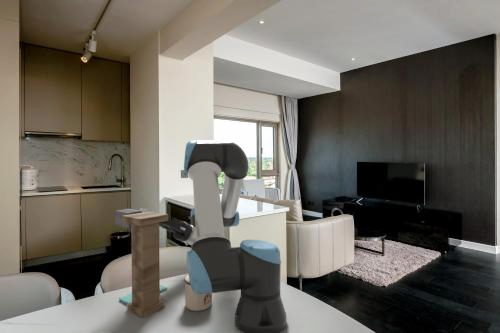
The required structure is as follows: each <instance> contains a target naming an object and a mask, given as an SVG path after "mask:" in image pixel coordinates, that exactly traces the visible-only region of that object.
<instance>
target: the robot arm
mask: <svg viewBox="0 0 500 333" xmlns="http://www.w3.org/2000/svg"><path fill="white" fill-rule="evenodd" d="M248 160H249V159H248V157H247V155H246V153H245V151H244V149H243V148H242V147H241V146H240V145H238V144H237V143H235V142H233V141H230V140H222V141H221V140H199V139H197V140H190V141H188V142H187V143H186V144H185V151H184V161H183V172H184V173H187V175H188V177H189V179H190V180H192V189H193V204H194V207H193V208H192V209H191V210H190V223H188V222H186V221H183V220H181V221H178V222H176V221H175V220H173V219H171V218H169V217H168V221H164V222H159V228H162V229H165V230H167V231H168V232H169V233H172V236H173V238H174V239H175V240H177V241H180V242H181V243H184V244H185V245H186V246H188V245H189V246H191V249H190V250H188V251H187V252H186V264H187V273H188V274H187V275H189V280H190V285H191V288H192V290H193V292H195V293H196V294H207V293H208V294H211V293H212V294H216V293H223V292H232V291H233V292H234V291H240V296H239V299H238V303H237V305H236V306H237V307H236V309H235V312H234V325H235V327H236V328H237V329H238V330H239V331H240V332H242V333H280V332H282V331H284V329H285V328H286V325H287V312H286V311H285V306H284V303H283V300H282V297H281V264H282V260H281V250H280V248H279V246H277V244H274V243H272V242H269V241H264V240H260V239H245V240H242V241H241V242H240V244H239V246H238V247H234V246H233V247H232V245H231V240H230V239H229V238H228V237H226V236H225V234H226V233H225V228H231V227H237V226H239V224H240V213H239V210H238V204H239V201H240V195H241V192H242V186H243V182H244V179H245V178H246V177H247V175H248V172H249V161H248ZM222 173H223V174H224V181H223V186H222V193H221V192H220V185H219V177H220V176H221V174H222ZM220 193H221V194H220ZM139 210H140V211H142V212H149V211H150V212H153V211H152V210H150V209H148V208H143V207H139Z"/></svg>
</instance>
